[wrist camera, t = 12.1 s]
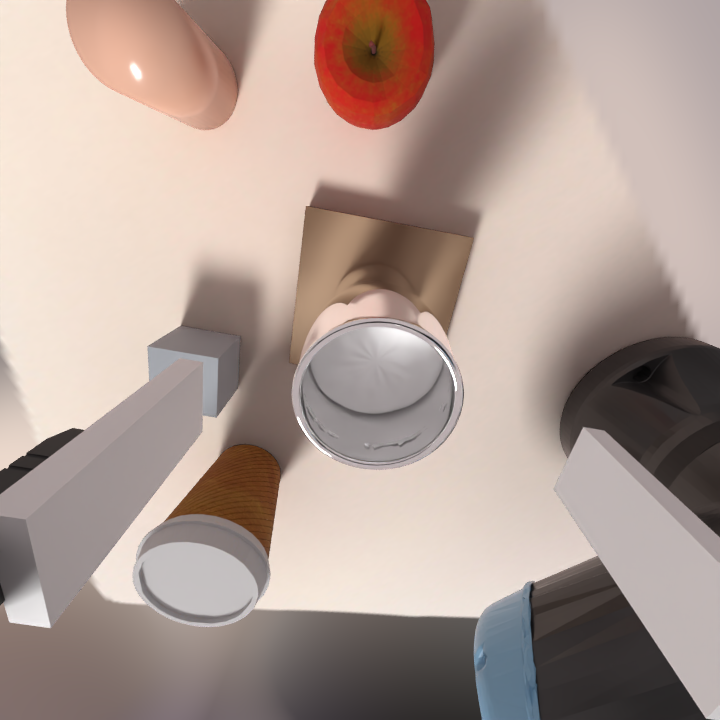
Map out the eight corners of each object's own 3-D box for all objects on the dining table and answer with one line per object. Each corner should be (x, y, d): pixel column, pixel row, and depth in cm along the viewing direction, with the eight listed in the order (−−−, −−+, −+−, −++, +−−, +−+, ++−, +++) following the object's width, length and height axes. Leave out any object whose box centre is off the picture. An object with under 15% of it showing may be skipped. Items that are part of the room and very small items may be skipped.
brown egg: (239, 46, 23) (178, -32, 15) (235, 136, 25) (179, 105, 17) (159, 29, 23) (58, -58, 15) (162, 121, 25) (73, 84, 17)
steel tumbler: (326, 257, 26) (277, 312, 12) (422, 257, 26) (481, 312, 12) (330, 347, 29) (292, 473, 15) (417, 347, 29) (460, 476, 15)
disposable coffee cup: (310, 496, 37) (285, 619, 26) (224, 514, 38) (166, 639, 27) (276, 419, 33) (231, 523, 22) (183, 442, 35) (97, 551, 24)
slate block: (240, 335, 30) (218, 358, 26) (238, 387, 32) (216, 417, 28) (181, 325, 30) (147, 346, 26) (181, 378, 32) (150, 406, 28)
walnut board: (468, 236, 27) (474, 238, 26) (428, 379, 32) (431, 387, 30) (309, 206, 26) (305, 206, 25) (292, 356, 31) (288, 363, 30)
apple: (355, 3, 22) (349, -91, 15) (439, 65, 23) (470, 3, 16) (309, 110, 24) (285, 71, 17) (388, 162, 25) (395, 144, 18)
